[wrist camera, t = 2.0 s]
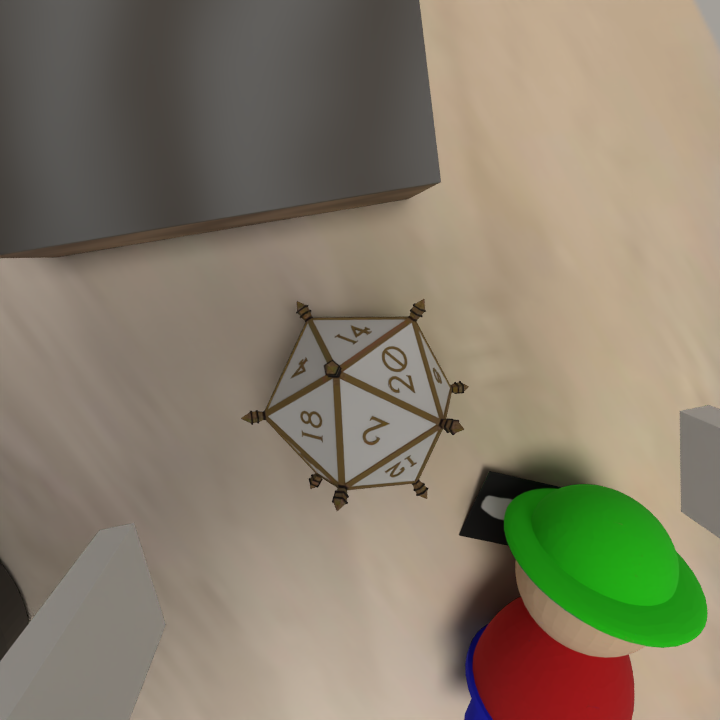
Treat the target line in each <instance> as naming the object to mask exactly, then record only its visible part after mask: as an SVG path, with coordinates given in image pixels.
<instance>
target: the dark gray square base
mask: <svg viewBox="0 0 720 720" xmlns="http://www.w3.org/2000/svg"><path fill="white" fill-rule="evenodd" d="M440 182H441V178H440V170H439V162H438V153H437V145H436V137H435V128H434V120H433V112H432V103H431V95H430V87H429V78H428V70H427V62H426V53H425V45H424V37H423V28H422V20H421V12H420V4H419V0H0V258H41V257H61V256H67V255H73V254H79V253H85V252H91V251H97V250H103V249H109V248H115V247H121V246H127V245H133V244H139V243H145V242H151V241H157V240H163V239H169V238H175V237H181V236H187V235H193V234H199V233H205V232H211V231H218V230H224V229H230V228H236V227H242V226H248V225H254V224H260V223H266V222H272V221H278V220H284V219H290V218H296V217H302V216H308V215H314V214H320V213H326V212H332V211H338V210H344V209H350V208H356V207H362V206H368V205H374V204H380V203H386V202H392V201H398V200H404V199H409V198H411V197H413V196H415V195H417V194H419V193H421V192H422V191H424V190H426V189H428V188H430V187H432V186H434V185H436V184H438V183H440Z"/></svg>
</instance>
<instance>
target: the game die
mask: <svg viewBox="0 0 720 720" xmlns="http://www.w3.org/2000/svg"><path fill="white" fill-rule="evenodd" d="M410 311H411V313H410V316H409V317H330V318H313V317H312V316H311V310H309V308H308V305H304V304H302V303H300V302H298V301H297V312H296V313H298V314H299V315H300V318H303V319H304V320H305V322H306V323H305V325H304V327H303V329H302V331H301V334H300V336H299V338H298V340H297V342H296V344H295V347H294V349H293V351H292V353H291V355H290V357H289V359H288V362H287V364H286V366H285V368H284V370H283V372H282V375H281V377H280V379H279V381H278V383H277V385H276V388H275V390H274V392H273V394H272V396H271V398H270V400H269V403H268V405H267V407H266V409H265V411H263V412H259V411H258V410H256V412H252V411H250V412H249V413H248V414H247V415H245V416H244V417H242V418H241V419H243V420H245V421H247V422H249V423H251V424H252V425H253V423H259V422H260V421H262V420H266V421H267V422H268V423H269V424H270V425H271V426H272V427H273V428H274V429H275V430H276V431H277V433H278V434H279V435H280V436H281V437H282V438H283V439H284V440H285V441H286V442H287V443H288V444H289V445H290V446H291V447H292V448H293V450H294V451H295V452H296V453H297V454H298V455H299V456H300V457H301V458H302V459H303V460H304V461H305V462H306V463H307V464H308V465H309V467H310V468H311V469H312V470H313V471H314V472H315V474H314V475H311V476H312V477H311V478H309V482H310V489H312V488H315V487H317V488H318V486H319V485H320V482H321V481H322V478H323V479H325V480H326V481H328V482H329V483H331V484H332V485H334V486H336V487H337V488H338V489H337V491H335V494H334V496H333V500H332V502H333V503H334V505H335V508H336V510H337V511H338V510H339V509H340V508H341V507H342V506H344V505H345V504H348V502H347V498H348V497H349V496H348V495H347V490H353V489H363V488H373V487H383V486H393V485H403V484H412V485H413V486H414V491H416V493H417V494H416V495H417V496H421V497H423V498H426V499H427V490H428V488H427V487H425V486H424V485H425V484H424V483H422V482H420V480H419V478H420V476H421V474H422V472H423V470H424V468H425V465H426V463H427V461H428V459H429V457H430V455H431V453H432V451H433V449H434V446H435V444H436V442H437V440H438V438H439V436H440V434H441V432H442V430H443V429H444V430H445V431H446V432H447V433H449V432H450V433H451V434H452V435H454V434H455V433H457V432H459V431H462V430H464V428H463V427H462V426H461V424H460V423H459V420H453V419H446V417H447V412H448V407H449V403H450V398H451V393H452V392H453V393H454V394H457V393H464V391H465V390H466V389H467V388H468V387H469V386H467V385H465V384H463V383H462V382H461V381H459V383H456V382H454V384H452V385H450V384H449V382H448V380H447V378H446V376H445V374H444V372H443V371H442V369H441V367H440V365H439V363H438V361H437V359H436V358H435V356H434V354H433V352H432V350H431V348H430V346H429V344H428V343H427V341H426V339H425V337H424V335H423V333H422V331H421V329H420V328H419V326H418V324H417V322H416V321H417V319H418V318H419V317H422V314H423V312H426V311H425V302H424V299H423V300H421V301H420V302H418V303H416V304H415V303H414V304H413V308H412V309H411V310H410Z"/></svg>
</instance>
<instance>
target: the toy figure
mask: <svg viewBox="0 0 720 720" xmlns="http://www.w3.org/2000/svg"><path fill="white" fill-rule="evenodd" d="M459 535H460V536H465V537H470V538H475V539H479V540H484V541H489V542H494V543H499V544H504V545H509V547H510V550H511V552H512V554H513V556H514V557H515V559H516V562H515V573H516V580H517V586H518V589H519V592H520V595H521V597H519V598H517V599H515V600H513V601H512V602H510V603H509V604H508V605H507V606H505V607H504V608H503V609H502V610H500V611H499V612H498V614H497V615H496V616H495V617H494V618H493V619H492V620H491V622H490V623H489V624H487V625H486V626H484V627H483V628H482V629H481V630H479V631H478V632H477V634H476V635H475V637H474V638H473V640H472V642H471V644H470V647H469V650H468V652H467V657H466V663H465V668H466V679H467V684H468V690H469V692H470V695H471V698H472V699H471V701H470V704H469V706H468V708H467V710H466V713H465V719H464V720H632V715H633V710H634V678H633V671H632V666H631V661H630V657H629V654H631V653H634V652H636V651H638V650H640V649H642V648H643V647H645V646H650V647H661V648H664V647H674V646H679V645H682V644H685V643H688V642H690V641H692V640H693V639H695V638H696V637H697V636H698V635H699V634H700V633H701V632H702V630H703V629H704V627H705V625H706V621H707V604H706V599H705V596H704V593H703V591H702V588H701V585H700V584H699V582H698V580H697V578H696V577H695V575H694V573H693V572H692V570H691V569H690V568H689V566H688V565H687V563H686V562H685V561H684V560H683V558H682V557H681V556H680V555H679V554H678V553H677V552H676V550H675V548H674V545H673V543H672V541H671V539H670V537H669V535H668V533H667V532H666V530H665V529H664V527H663V526H662V524H661V523H660V522H659V521H658V519H657V518H656V517H655V516H654V515H653V514H652V513H651V512H650V511H649V510H647V509H646V508H645V507H644V506H643V505H641V504H640V503H639V502H637V501H636V500H634V499H633V498H631V497H629V496H627V495H625V494H623V493H621V492H619V491H616V490H614V489H611V488H607V487H603V486H599V485H591V484H576V485H569V486H565V487H562V488H561V487H557V486H553V485H548V484H544V483H539V482H535V481H531V480H526V479H522V478H518V477H513V476H509V475H505V474H500V473H496V472H491V471H489V473H488V475H487V477H486V479H485V481H484V483H483V486H482V488H481V490H480V492H479V494H478V496H477V498H476V500H475V502H474V504H473V507H472V509H471V511H470V513H469V515H468V517H467V519H466V521H465V523H464V525H463V527H462V530H461V532H460V534H459Z"/></svg>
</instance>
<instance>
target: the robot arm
mask: <svg viewBox="0 0 720 720" xmlns="http://www.w3.org/2000/svg"><path fill="white" fill-rule="evenodd" d="M680 469H681V512H682V513H684V514H685V515H687V516H688V517H690V518H691V519H693V520H694V521H695V522H697V523H698V524H700V525H701V526H703V527H704V528H706V529H707V530H709V531H710V532H711V533H713V534H714V535H716V536H717V537H719V538H720V409H718V408H716V407H713V406H710V405H707V406H702V407H698V408H693V409H688V410H683V411H680ZM165 625H166V624H165V621H164V617H163V614H162V611H161V608H160V605H159V601H158V598H157V595H156V592H155V589H154V585H153V582H152V579H151V576H150V573H149V569H148V566H147V563H146V560H145V556H144V553H143V550H142V547H141V544H140V540H139V537H138V534H137V531H136V528H135V524H134V523H131V524H126V525H122V526H117V527H112V528H107V529H102V530H99V531H98V533H97V534H96V535H95V537H94V538H93V539H92V541H91V542H90V543H89V545H88V546H87V547H86V549H85V550H84V551H83V553H82V554H81V555H80V556H79V558H78V559H77V560H76V562H75V563H74V564H73V566H72V567H71V568H70V570H69V571H68V572H67V574H66V575H65V576H64V578H63V579H62V580H61V582H60V583H59V584H58V586H57V587H56V588H55V590H54V591H53V592H52V594H51V595H50V596H49V598H48V599H47V600H46V601H45V603H44V604H43V605H42V607H41V608H40V609H39V611H38V612H37V613H36V615H35V616H34V617H33V619H32V620H31V621H30V623H29V624H28V618H27V614H26V610H25V606H24V604H23V601H22V598H21V596H20V593H19V591H18V589H17V587H16V585H15V584H14V582H13V580H12V578H11V577H10V575H9V574H8V572H7V571H6V570H5V568H4V567H3V566H2V564H1V563H0V720H129V719H130V717H131V714H132V711H133V709H134V706H135V704H136V701H137V698H138V696H139V693H140V691H141V688H142V685H143V683H144V680H145V678H146V675H147V672H148V670H149V667H150V664H151V662H152V659H153V657H154V654H155V651H156V649H157V646H158V644H159V641H160V638H161V636H162V633H163V631H164V628H165Z"/></svg>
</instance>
